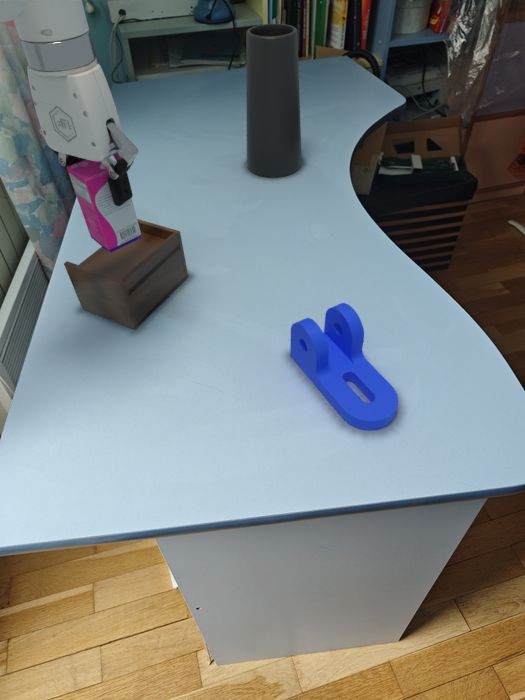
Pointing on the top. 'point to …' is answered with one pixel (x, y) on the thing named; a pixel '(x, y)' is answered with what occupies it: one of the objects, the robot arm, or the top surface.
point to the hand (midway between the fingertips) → (102, 194)
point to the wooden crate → (131, 276)
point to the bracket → (343, 367)
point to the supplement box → (103, 206)
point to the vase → (273, 100)
